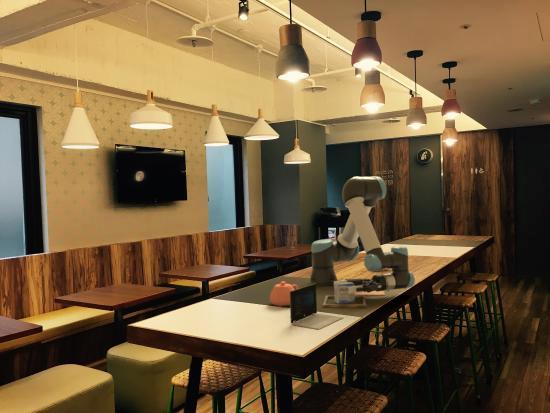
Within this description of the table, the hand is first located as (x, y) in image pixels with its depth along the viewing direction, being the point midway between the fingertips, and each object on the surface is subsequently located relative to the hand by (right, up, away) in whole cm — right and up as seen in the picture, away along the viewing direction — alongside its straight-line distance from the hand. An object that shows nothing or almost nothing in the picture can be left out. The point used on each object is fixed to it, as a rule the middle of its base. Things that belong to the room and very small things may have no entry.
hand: (341, 287), depth 202 cm
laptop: (-13, -9, -28) cm, 32 cm away
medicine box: (+2, -7, +1) cm, 7 cm away
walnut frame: (+2, -7, +1) cm, 7 cm away
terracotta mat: (+17, -6, +20) cm, 26 cm away
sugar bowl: (-24, -8, +2) cm, 26 cm away
